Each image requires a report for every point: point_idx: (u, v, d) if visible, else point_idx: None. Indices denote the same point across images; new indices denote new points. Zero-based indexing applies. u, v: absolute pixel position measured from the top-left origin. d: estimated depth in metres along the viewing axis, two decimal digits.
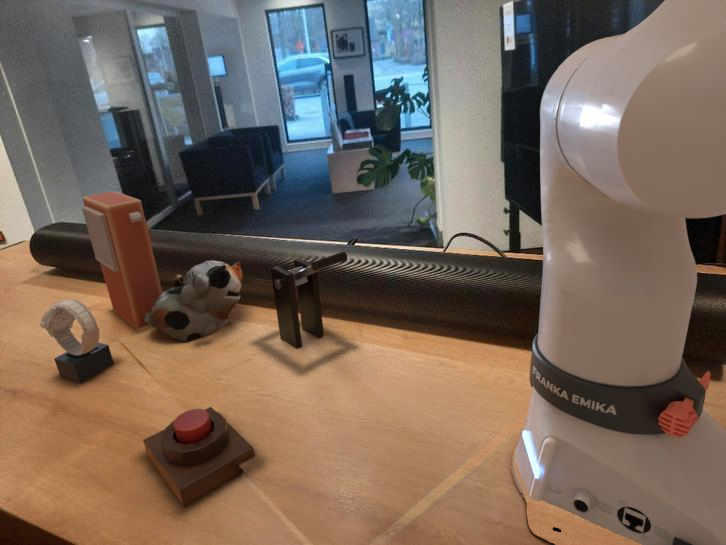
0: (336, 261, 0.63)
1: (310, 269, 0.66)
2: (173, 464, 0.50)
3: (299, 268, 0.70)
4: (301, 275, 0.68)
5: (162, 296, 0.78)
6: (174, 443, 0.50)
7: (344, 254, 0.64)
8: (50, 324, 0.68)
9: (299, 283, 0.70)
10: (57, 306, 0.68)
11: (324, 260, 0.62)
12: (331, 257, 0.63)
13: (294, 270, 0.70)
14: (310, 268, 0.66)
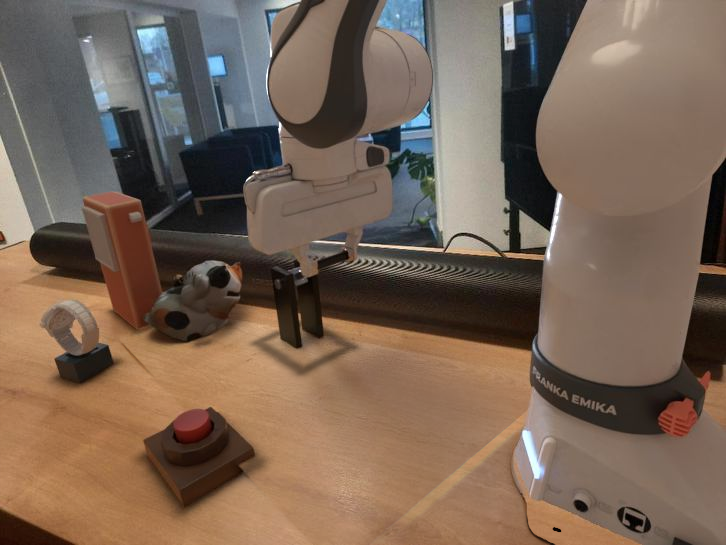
0: (336, 261, 0.63)
1: None
2: (173, 464, 0.50)
3: (299, 268, 0.70)
4: (301, 275, 0.68)
5: (162, 296, 0.78)
6: (174, 443, 0.50)
7: (344, 254, 0.64)
8: (50, 324, 0.68)
9: (299, 283, 0.70)
10: (57, 306, 0.67)
11: (324, 260, 0.62)
12: (331, 257, 0.63)
13: (294, 270, 0.70)
14: None
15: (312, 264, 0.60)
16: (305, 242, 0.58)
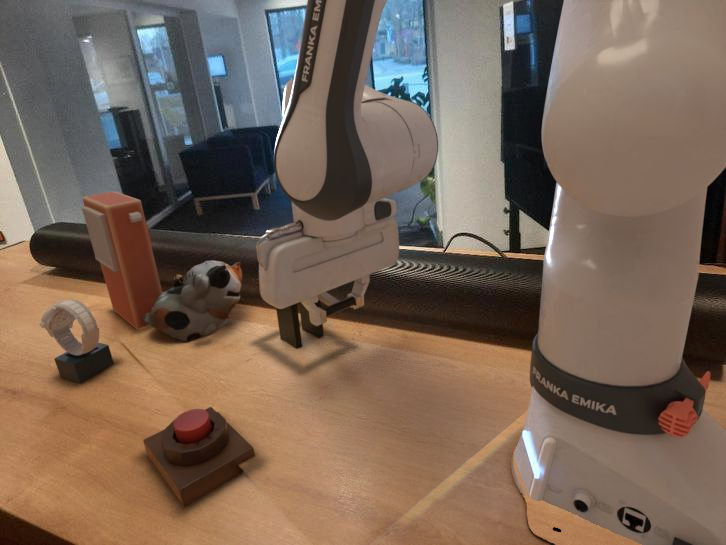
0: (344, 308, 0.65)
1: None
2: (173, 464, 0.50)
3: None
4: None
5: (162, 296, 0.78)
6: (174, 443, 0.50)
7: (353, 302, 0.65)
8: (50, 324, 0.68)
9: None
10: (57, 306, 0.68)
11: (335, 309, 0.63)
12: (342, 305, 0.64)
13: None
14: None
15: (321, 314, 0.62)
16: (315, 294, 0.60)
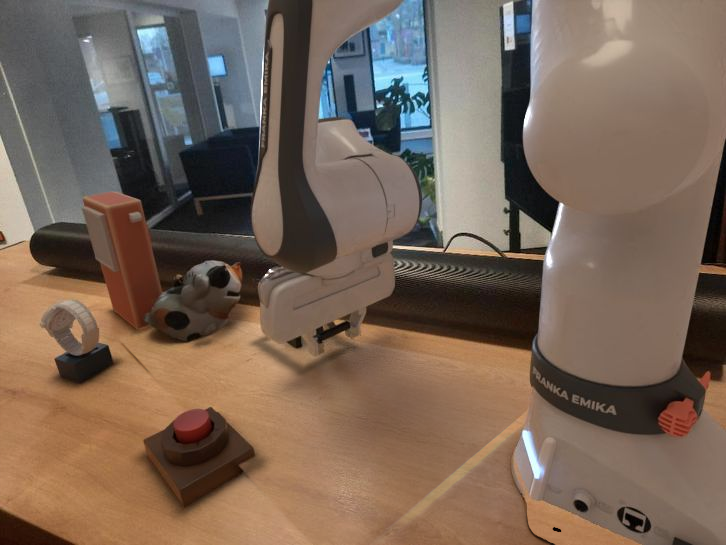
0: (338, 333, 0.68)
1: None
2: (173, 464, 0.50)
3: None
4: None
5: (162, 296, 0.78)
6: (174, 443, 0.50)
7: (348, 328, 0.68)
8: (50, 324, 0.68)
9: None
10: (57, 306, 0.67)
11: (330, 335, 0.66)
12: (337, 332, 0.67)
13: None
14: None
15: (319, 345, 0.65)
16: (313, 329, 0.62)
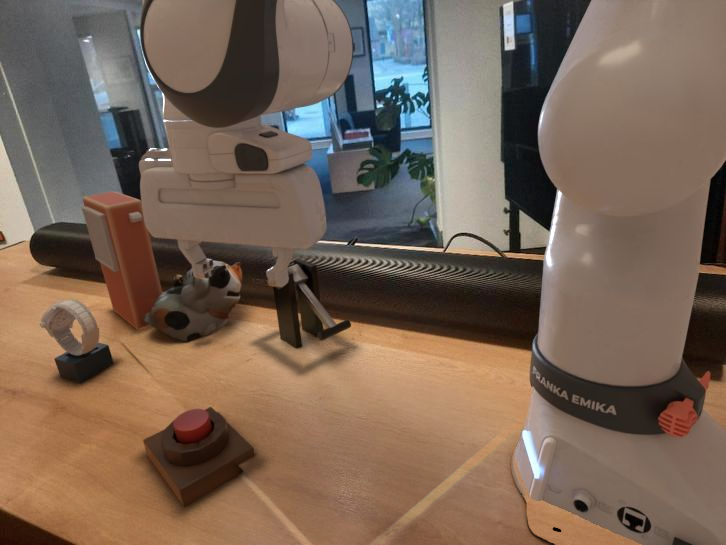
0: (339, 332, 0.68)
1: (314, 308, 0.68)
2: (173, 464, 0.50)
3: (304, 279, 0.70)
4: (302, 294, 0.70)
5: (162, 296, 0.78)
6: (174, 443, 0.50)
7: (348, 327, 0.68)
8: (50, 324, 0.68)
9: (296, 290, 0.71)
10: (57, 306, 0.68)
11: (331, 334, 0.66)
12: (337, 331, 0.67)
13: (299, 281, 0.70)
14: (314, 308, 0.68)
15: (196, 265, 0.53)
16: (187, 238, 0.51)
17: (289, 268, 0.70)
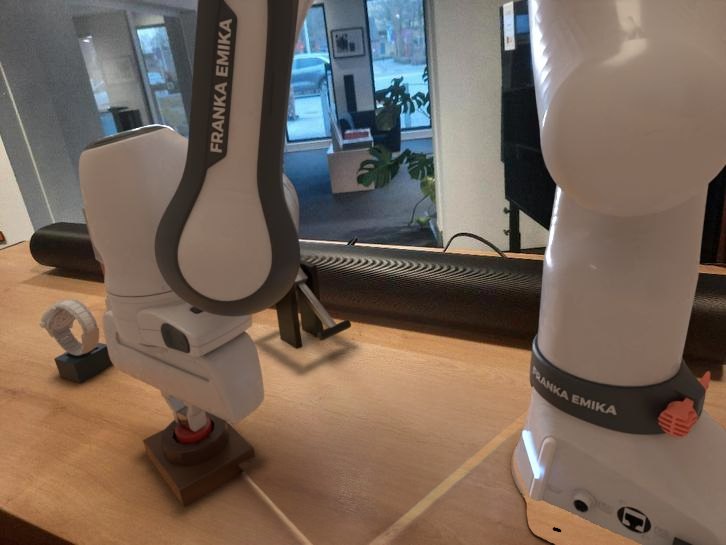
0: (339, 332, 0.68)
1: (314, 308, 0.68)
2: (173, 464, 0.50)
3: (304, 279, 0.70)
4: (302, 294, 0.70)
5: None
6: (174, 443, 0.50)
7: (348, 327, 0.68)
8: (50, 324, 0.68)
9: (296, 290, 0.71)
10: (57, 306, 0.68)
11: (331, 334, 0.66)
12: (337, 331, 0.67)
13: (299, 281, 0.70)
14: (314, 308, 0.68)
15: (176, 413, 0.51)
16: (141, 380, 0.51)
17: None
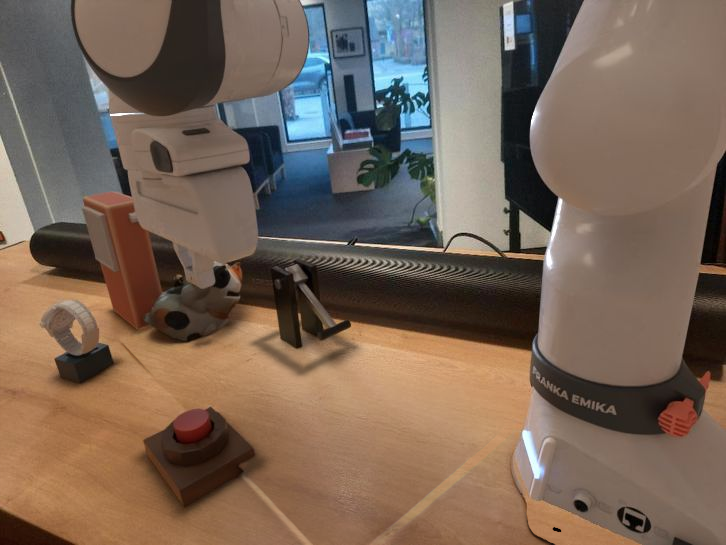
0: (339, 332, 0.68)
1: (314, 308, 0.68)
2: (173, 464, 0.50)
3: (304, 279, 0.70)
4: (302, 294, 0.70)
5: (162, 296, 0.78)
6: (174, 443, 0.50)
7: (348, 327, 0.68)
8: (50, 324, 0.68)
9: (296, 290, 0.71)
10: (57, 306, 0.68)
11: (331, 334, 0.66)
12: (337, 331, 0.67)
13: (299, 281, 0.70)
14: (314, 308, 0.68)
15: (186, 269, 0.49)
16: (156, 233, 0.50)
17: (289, 268, 0.70)
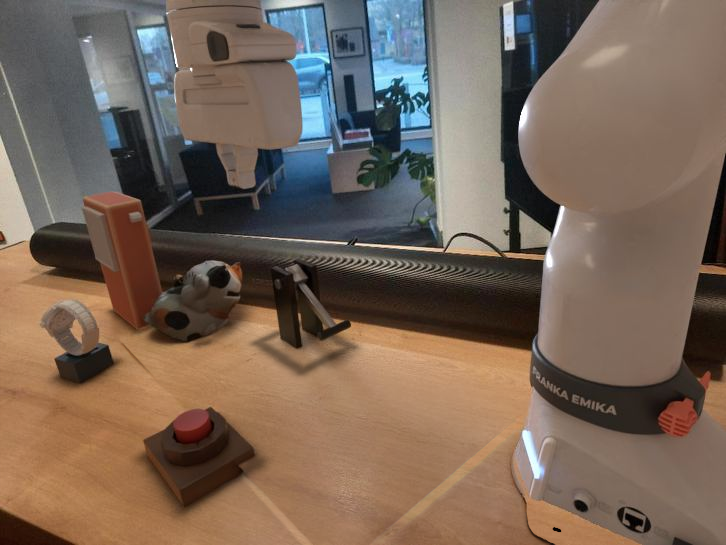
0: (339, 332, 0.68)
1: (314, 308, 0.68)
2: (173, 464, 0.50)
3: (304, 279, 0.70)
4: (302, 294, 0.70)
5: (162, 296, 0.78)
6: (174, 443, 0.50)
7: (348, 327, 0.68)
8: (50, 324, 0.68)
9: (296, 290, 0.71)
10: (57, 306, 0.68)
11: (331, 334, 0.66)
12: (337, 331, 0.67)
13: (299, 281, 0.70)
14: (314, 308, 0.68)
15: (229, 172, 0.53)
16: (201, 139, 0.54)
17: (289, 268, 0.70)
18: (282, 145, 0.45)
